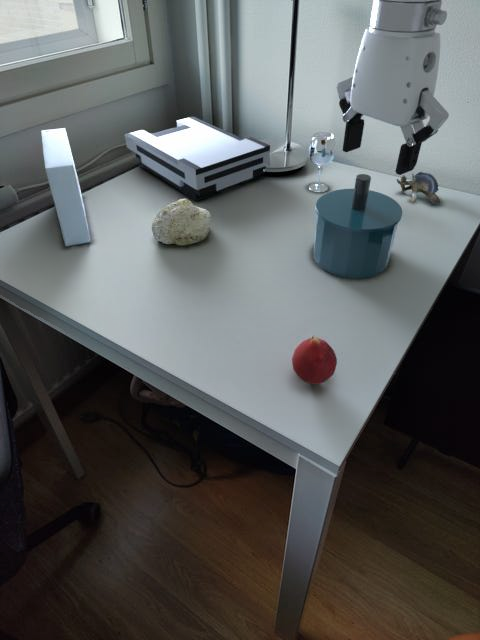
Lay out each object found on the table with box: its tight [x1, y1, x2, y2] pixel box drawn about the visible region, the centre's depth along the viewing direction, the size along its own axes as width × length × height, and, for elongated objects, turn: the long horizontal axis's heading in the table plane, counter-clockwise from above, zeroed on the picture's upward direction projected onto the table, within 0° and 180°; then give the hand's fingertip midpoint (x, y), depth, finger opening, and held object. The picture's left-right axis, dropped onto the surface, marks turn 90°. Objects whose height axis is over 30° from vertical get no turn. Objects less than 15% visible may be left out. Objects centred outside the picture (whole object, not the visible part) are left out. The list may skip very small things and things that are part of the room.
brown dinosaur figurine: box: [396, 170, 441, 206], centre depth 101 cm, size 8×7×9 cm
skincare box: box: [40, 127, 92, 247], centre depth 93 cm, size 21×5×16 cm, turn 20°
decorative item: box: [151, 197, 212, 246], centre depth 90 cm, size 12×9×10 cm
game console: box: [124, 116, 271, 202], centre depth 114 cm, size 21×32×8 cm, turn 38°
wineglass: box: [308, 131, 336, 193], centre depth 104 cm, size 6×6×12 cm
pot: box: [313, 214, 398, 279], centre depth 83 cm, size 14×14×10 cm
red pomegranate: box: [291, 335, 338, 385], centre depth 61 cm, size 6×6×8 cm
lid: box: [315, 173, 403, 232], centre depth 78 cm, size 15×15×7 cm
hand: (376, 160), depth 65 cm, fingers open, 9 cm apart
